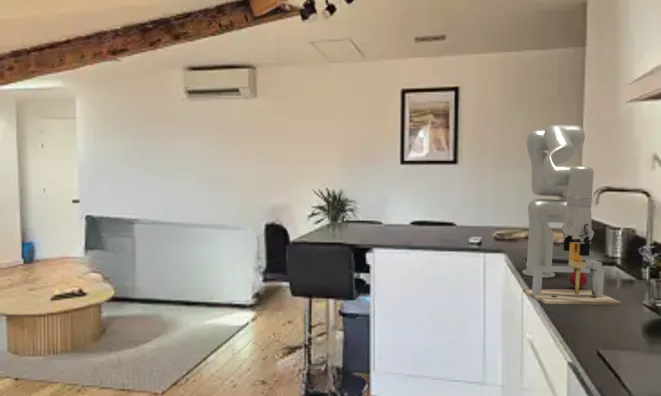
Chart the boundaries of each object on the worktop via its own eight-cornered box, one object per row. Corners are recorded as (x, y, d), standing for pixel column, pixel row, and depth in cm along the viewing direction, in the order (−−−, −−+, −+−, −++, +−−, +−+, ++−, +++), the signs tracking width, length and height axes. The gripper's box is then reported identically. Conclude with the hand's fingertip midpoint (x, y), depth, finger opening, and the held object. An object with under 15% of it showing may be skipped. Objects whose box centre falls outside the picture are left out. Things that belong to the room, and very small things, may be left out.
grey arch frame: (531, 293, 180) (534, 258, 179) (598, 294, 182) (600, 260, 181) (538, 297, 175) (540, 261, 174) (606, 298, 177) (609, 262, 177)
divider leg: (566, 291, 181) (569, 242, 180) (574, 291, 181) (578, 242, 180) (574, 294, 176) (577, 244, 175) (582, 294, 177) (586, 244, 176)
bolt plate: (522, 291, 187) (523, 288, 187) (592, 292, 189) (592, 289, 189) (545, 303, 171) (545, 300, 171) (620, 304, 173) (620, 301, 173)
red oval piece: (567, 288, 194) (568, 267, 194) (571, 286, 199) (572, 265, 198) (584, 291, 191) (585, 269, 190) (587, 289, 195) (589, 267, 195)
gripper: (555, 201, 186) (552, 248, 187) (583, 204, 169) (579, 257, 170) (575, 201, 187) (572, 249, 188) (605, 205, 170) (601, 257, 171)
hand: (575, 253), depth 179 cm, fingers open, 9 cm apart
